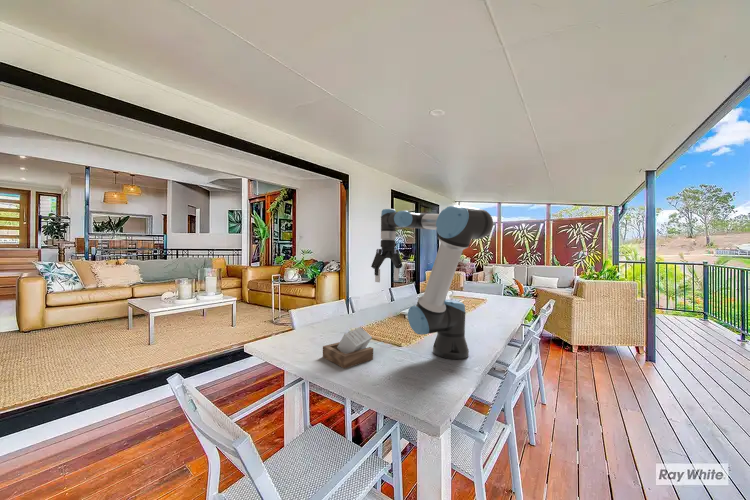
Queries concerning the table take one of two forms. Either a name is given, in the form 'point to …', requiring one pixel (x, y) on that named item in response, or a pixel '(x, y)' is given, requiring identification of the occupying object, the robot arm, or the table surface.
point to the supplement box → (354, 341)
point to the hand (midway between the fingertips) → (387, 281)
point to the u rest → (346, 355)
